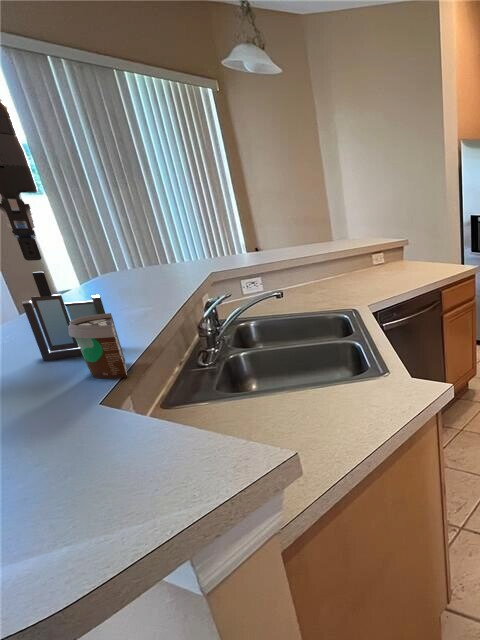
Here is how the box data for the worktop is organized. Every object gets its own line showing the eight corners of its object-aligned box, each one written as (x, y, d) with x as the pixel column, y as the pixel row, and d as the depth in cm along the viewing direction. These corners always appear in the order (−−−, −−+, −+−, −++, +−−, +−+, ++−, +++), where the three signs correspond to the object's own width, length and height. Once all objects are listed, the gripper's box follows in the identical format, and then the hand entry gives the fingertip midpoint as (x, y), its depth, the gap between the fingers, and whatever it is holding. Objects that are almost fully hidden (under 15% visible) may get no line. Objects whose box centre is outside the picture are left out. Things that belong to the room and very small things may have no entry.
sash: (50, 351, 88) (22, 273, 83) (50, 350, 89) (21, 272, 83) (79, 347, 91) (53, 271, 86) (78, 346, 92) (52, 271, 86)
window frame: (43, 361, 88) (22, 303, 84) (42, 357, 90) (21, 301, 85) (116, 350, 95) (100, 297, 91) (114, 347, 97) (98, 295, 93)
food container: (84, 367, 85) (67, 316, 82) (125, 361, 89) (110, 312, 85) (81, 386, 77) (61, 330, 73) (127, 379, 80) (110, 325, 77)
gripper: (-32, 162, 80) (4, 255, 85) (-37, 158, 71) (3, 263, 76) (28, 166, 85) (57, 254, 91) (30, 162, 76) (63, 260, 82)
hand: (32, 258), depth 84 cm, fingers open, 8 cm apart
